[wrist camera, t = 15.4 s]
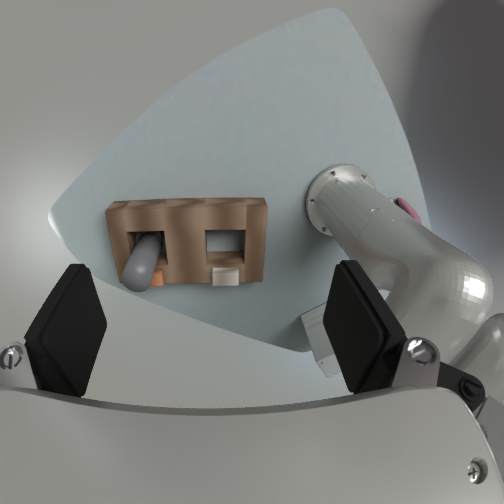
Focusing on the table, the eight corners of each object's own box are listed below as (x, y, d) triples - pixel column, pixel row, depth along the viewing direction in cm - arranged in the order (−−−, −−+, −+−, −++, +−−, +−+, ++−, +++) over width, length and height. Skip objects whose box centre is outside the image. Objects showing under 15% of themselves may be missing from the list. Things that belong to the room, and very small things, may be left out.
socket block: (263, 197, 44) (269, 211, 39) (259, 268, 50) (263, 287, 45) (113, 201, 41) (101, 215, 36) (126, 269, 48) (117, 288, 43)
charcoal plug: (163, 226, 44) (147, 267, 34) (165, 247, 46) (152, 292, 36) (140, 226, 44) (118, 267, 33) (143, 248, 46) (124, 291, 35)
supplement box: (311, 334, 61) (326, 379, 50) (299, 314, 57) (314, 362, 46) (341, 320, 59) (361, 363, 49) (331, 298, 56) (353, 344, 45)
